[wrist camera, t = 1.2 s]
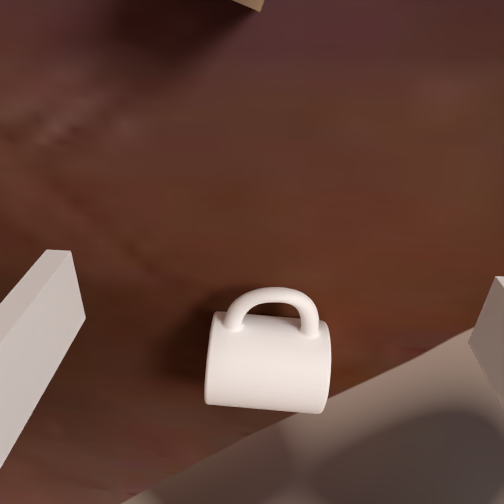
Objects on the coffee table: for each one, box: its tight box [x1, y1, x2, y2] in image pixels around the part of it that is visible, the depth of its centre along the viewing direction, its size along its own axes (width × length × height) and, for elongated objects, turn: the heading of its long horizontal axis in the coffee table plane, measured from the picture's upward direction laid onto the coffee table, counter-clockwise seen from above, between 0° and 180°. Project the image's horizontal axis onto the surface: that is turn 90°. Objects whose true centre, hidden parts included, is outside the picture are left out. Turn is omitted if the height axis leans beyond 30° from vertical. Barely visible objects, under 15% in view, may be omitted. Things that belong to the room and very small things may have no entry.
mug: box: [204, 287, 331, 414], centre depth 37 cm, size 12×10×8 cm
